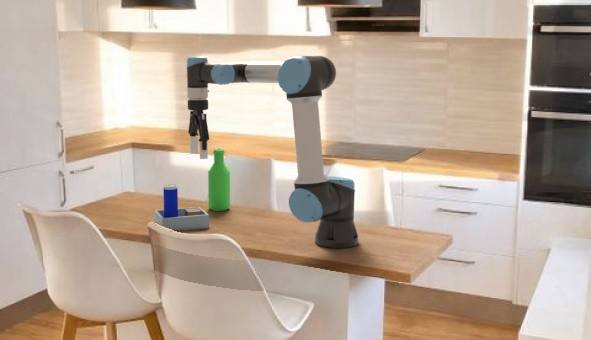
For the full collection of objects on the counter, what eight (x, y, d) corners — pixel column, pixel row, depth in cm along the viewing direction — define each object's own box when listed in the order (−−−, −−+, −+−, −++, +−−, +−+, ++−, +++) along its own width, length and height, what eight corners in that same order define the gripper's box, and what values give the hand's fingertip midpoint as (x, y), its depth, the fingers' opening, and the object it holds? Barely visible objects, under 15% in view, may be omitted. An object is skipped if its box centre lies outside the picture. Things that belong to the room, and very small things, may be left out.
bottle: (211, 212, 303) (211, 151, 298) (206, 207, 311) (205, 148, 306) (232, 210, 306) (232, 150, 301) (226, 205, 314) (226, 147, 309)
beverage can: (180, 224, 281) (180, 185, 278) (173, 227, 276) (172, 187, 273) (169, 222, 283) (168, 183, 280) (161, 225, 278) (160, 186, 276)
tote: (209, 227, 278) (209, 214, 277) (162, 232, 272) (162, 218, 271) (199, 219, 291) (199, 206, 290) (154, 223, 284) (154, 210, 283)
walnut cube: (201, 223, 281) (201, 211, 280) (188, 225, 280) (187, 212, 279) (197, 220, 286) (197, 208, 285) (185, 221, 284) (184, 209, 283)
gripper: (217, 101, 265) (218, 160, 269) (198, 96, 288) (199, 150, 292) (196, 102, 262) (197, 161, 266) (179, 96, 285) (180, 151, 289)
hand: (198, 156), depth 279 cm, fingers open, 13 cm apart
